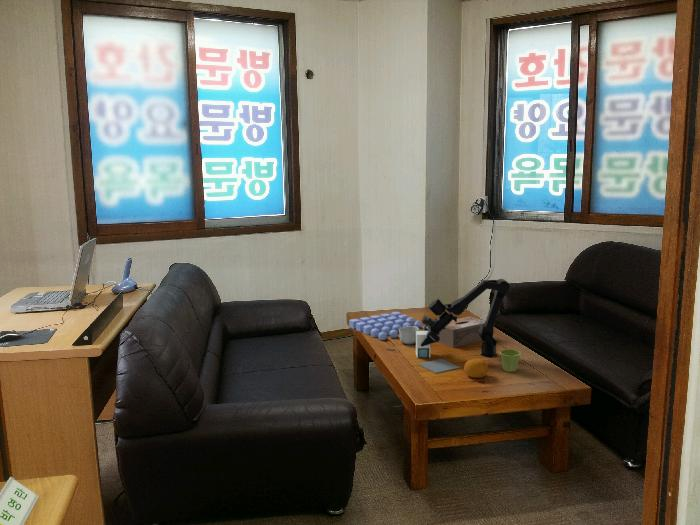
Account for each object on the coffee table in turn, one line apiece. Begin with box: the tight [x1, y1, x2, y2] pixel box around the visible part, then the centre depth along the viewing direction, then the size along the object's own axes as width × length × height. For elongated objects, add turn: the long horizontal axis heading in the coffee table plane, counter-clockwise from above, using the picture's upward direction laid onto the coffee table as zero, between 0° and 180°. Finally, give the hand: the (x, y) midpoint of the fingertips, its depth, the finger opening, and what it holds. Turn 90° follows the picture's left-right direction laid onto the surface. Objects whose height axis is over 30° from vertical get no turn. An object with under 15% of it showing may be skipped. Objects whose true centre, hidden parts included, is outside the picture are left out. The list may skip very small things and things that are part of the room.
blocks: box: [348, 311, 424, 341], centre depth 344 cm, size 35×34×5 cm
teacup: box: [398, 326, 420, 345], centre depth 318 cm, size 14×11×8 cm
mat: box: [418, 358, 461, 374], centre depth 280 cm, size 14×14×1 cm
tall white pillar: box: [415, 330, 431, 359], centre depth 295 cm, size 7×7×12 cm
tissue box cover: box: [437, 316, 486, 348], centre depth 320 cm, size 26×14×10 cm, turn 122°
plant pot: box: [499, 348, 522, 373], centre depth 274 cm, size 9×9×9 cm
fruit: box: [463, 358, 489, 379], centre depth 267 cm, size 10×10×8 cm
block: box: [418, 348, 428, 358], centre depth 296 cm, size 4×4×4 cm
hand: (420, 343), depth 295 cm, fingers open, 9 cm apart
